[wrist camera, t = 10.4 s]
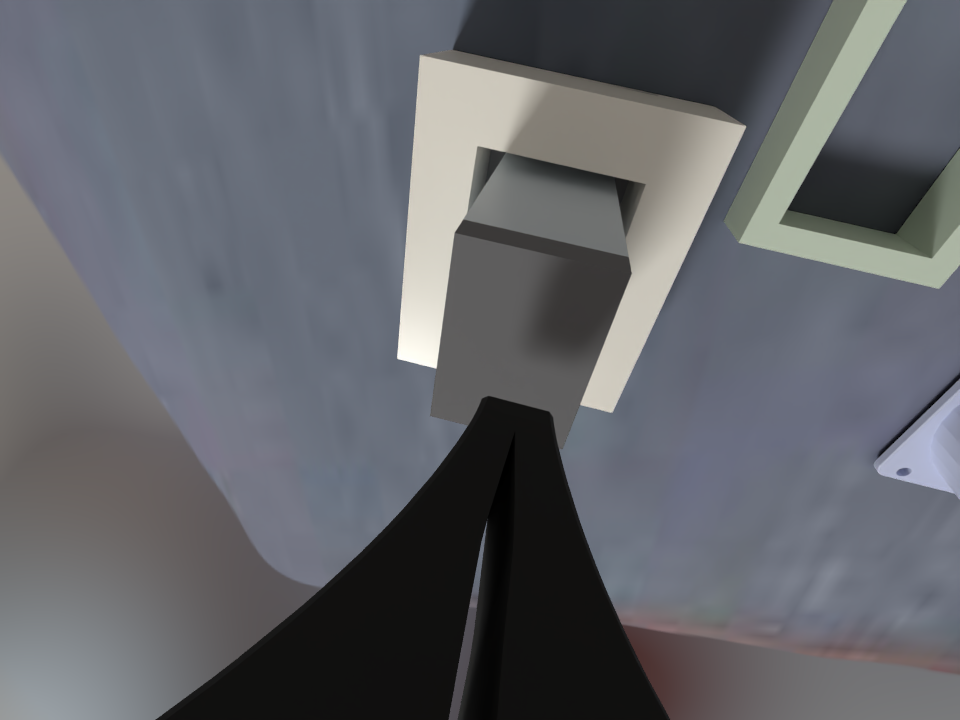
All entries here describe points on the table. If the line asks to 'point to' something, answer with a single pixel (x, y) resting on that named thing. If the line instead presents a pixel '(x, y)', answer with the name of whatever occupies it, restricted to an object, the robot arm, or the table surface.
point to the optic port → (565, 141)
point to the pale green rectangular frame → (799, 139)
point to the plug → (531, 291)
